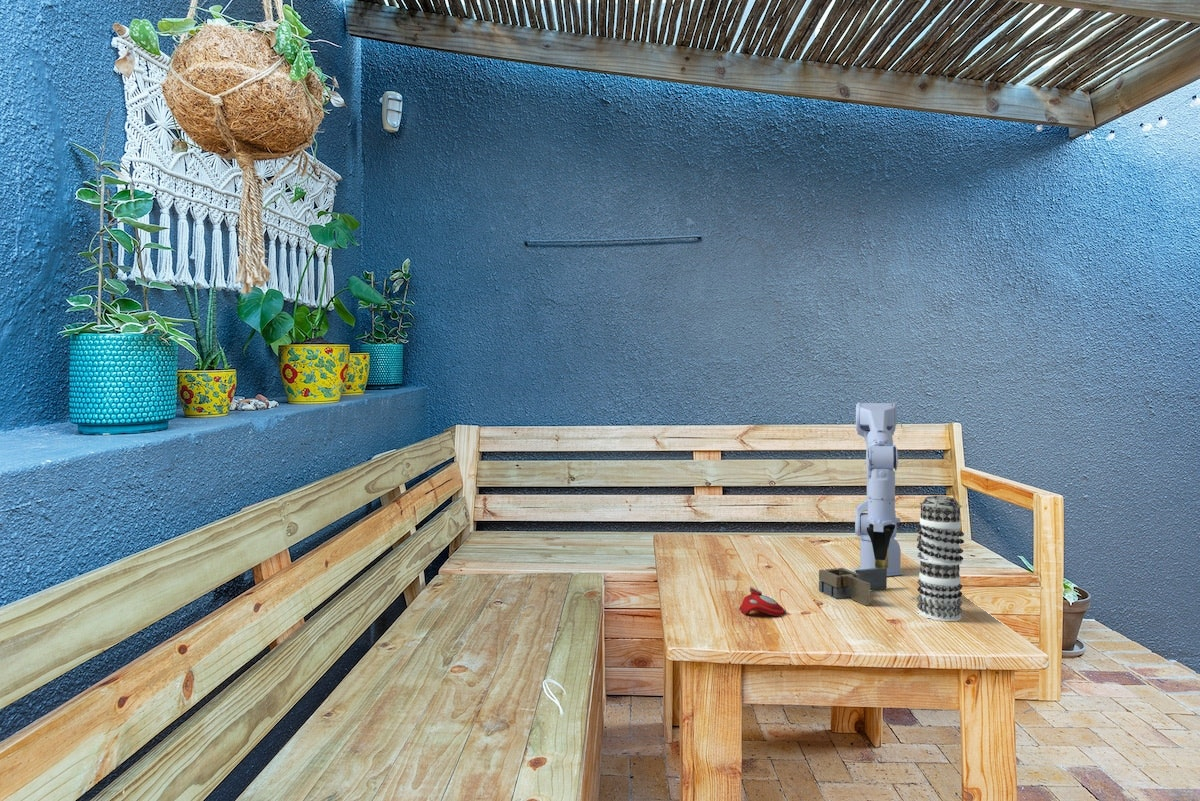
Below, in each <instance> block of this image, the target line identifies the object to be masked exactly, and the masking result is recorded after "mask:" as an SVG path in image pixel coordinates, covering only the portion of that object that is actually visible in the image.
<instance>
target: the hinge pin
mask: <svg viewBox="0 0 1200 801" xmlns="http://www.w3.org/2000/svg"><path fill="white" fill-rule="evenodd" d="M884 529H886V528H884ZM886 530H890V529H886ZM875 567H876V568H882V569H886V568H888V549H887V555H886V559H885V560H876V559H875Z"/></svg>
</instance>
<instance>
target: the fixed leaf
mask: <svg viewBox="0 0 1200 801" xmlns="http://www.w3.org/2000/svg"><path fill="white" fill-rule="evenodd" d="M855 573H858V574H860V575H861V580H863V581H865V582H868V583H870V590H873V591H878V590H877V589H882V590H887V589H886V588H888V586H887V583H888V576H887V568H886V569H882V568H870V569H860V570H856V571H855ZM818 591H819V592H820V593H823V594H824V595H827V596H829V597H831V598H832V597H833V599H836V600H839V599H849V598H851V588H849V587H842V586H841V587H838V588H836V587H834V586H831V585H829V584H827V583H824V582H822V581H820V580H818Z"/></svg>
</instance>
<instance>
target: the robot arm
mask: <svg viewBox="0 0 1200 801" xmlns="http://www.w3.org/2000/svg"><path fill="white" fill-rule="evenodd" d="M897 424H898V406H897V404H896V403H895V402H861V401H860V402H859V401H858V402H857V403H856V404H855V430H856V433H857V435H858V436H861V437H863V439H864V442H865V445H866V451H865V452H866V453H865V465H866V500H864V501H863V502H861V503H860V504H858V505H857V506H856V508H855V517H854V523H855V524H854V527H855V529H854V530H855V531H854V533H855V536H857V537H859V538H860V548H859V549H860V558H859V559H860V560H859V561H860V564H859V566H860V567H855V568H854V567H853V568H852V571H853V572H856V570H860V569H870V568H876V567H875V559H876V560H885V559H886V555H887V549H888V568H887V577H891V576H893V577H894V576H902V575H904V574H903V572H902V571H901V551H902V550H901V547H900V543H899V542H898V540H896V539H895V538H896V537H897V525H898V524H897V523H901V518H900V517H896V514H897V513H896V472H897V471H898V463H899V454H898V447H897V445H896V444H894V439H893V436H894V434H895V432H896V429H897V428H896V427H897ZM884 528H886V529H890V530H886V529H884Z"/></svg>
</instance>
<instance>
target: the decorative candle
mask: <svg viewBox="0 0 1200 801" xmlns="http://www.w3.org/2000/svg"><path fill="white" fill-rule="evenodd" d="M919 505H920V517H919V521H917V522H916V523H915V524H916V525H917V527H916V528H915V530H916V532H917V534H918V535H917V539H916V541H917V542H918V543H917V545H916V548H917V549H918V551H919V552H917V553H918V554H917V559H918V560H919V563H920V566H919V575H918V576H919V577H918V581H917V584H918V585H919V586H918V587H917V589H916V590H917V592H918V593H919V594H918V596H917V597H916V599H917V601H918V603H917V605H916V606H917V609H918V610H917V614H918V613H919V614H918V616H920V615H921V616H920V617H922V616H923V617H922V618H924V617H926V618H925V619H927V618H931V619H936V620H943V621H954V622H957V621H956V620H959V621H961V620H962V615H961V614H962V611H963V608H962V607H961V606H962V605H963V600H961V598H962V595H963V592H962V591H961V590H962V589H963V585H962V584H961V581H962V580H961V575H960V569H961V568H960V565H961V564H963V560H964V557H963V556H961V554H963V552H964V550H963V549H962V548H961V547H960V545H962V544H964V543H965V540H964V539H963V538H962V537H963V536H965V532H963V531H962V530H960V529H961V528H962V520H961V508H962V507H963V506H962V505H961V504H960V503H959V502H958V501H957V499H956V498H954V497H950V496H944V495H943V496H941V495H930V496H927V497H925V498H924V499H923V501H922V502H920V503H919ZM960 619H961V620H960Z"/></svg>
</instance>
